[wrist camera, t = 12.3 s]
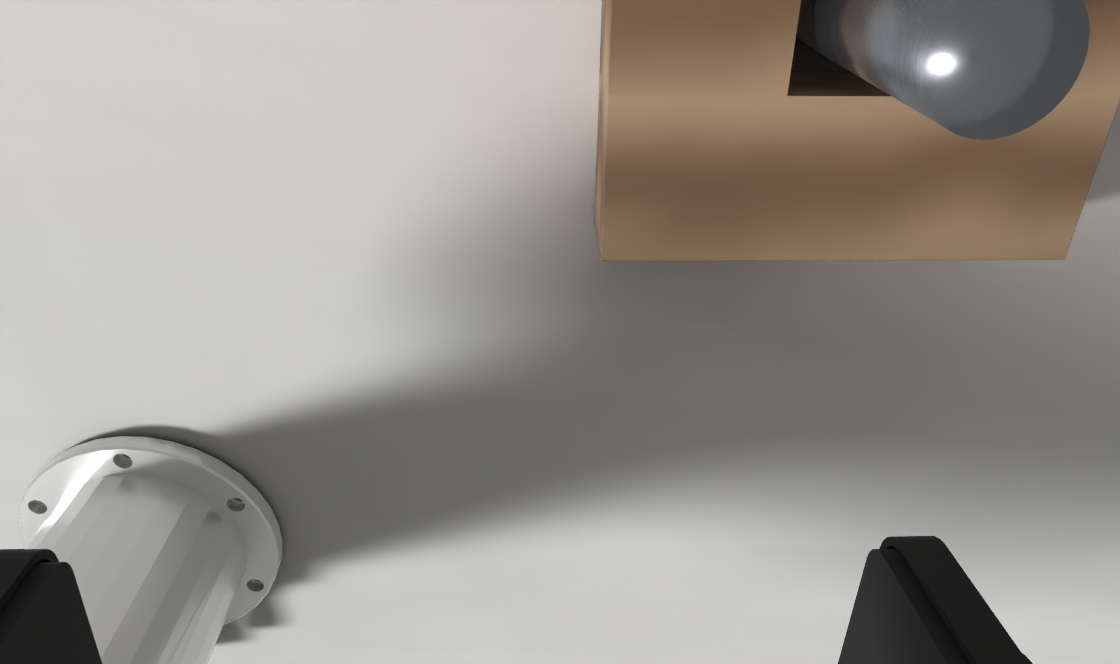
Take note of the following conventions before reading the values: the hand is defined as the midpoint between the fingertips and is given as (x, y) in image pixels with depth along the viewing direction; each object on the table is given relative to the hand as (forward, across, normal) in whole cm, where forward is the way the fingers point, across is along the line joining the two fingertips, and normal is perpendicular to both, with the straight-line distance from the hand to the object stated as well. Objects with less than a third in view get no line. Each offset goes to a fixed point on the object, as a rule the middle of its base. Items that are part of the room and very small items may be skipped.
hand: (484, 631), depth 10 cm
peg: (+25, -13, -6) cm, 28 cm away
